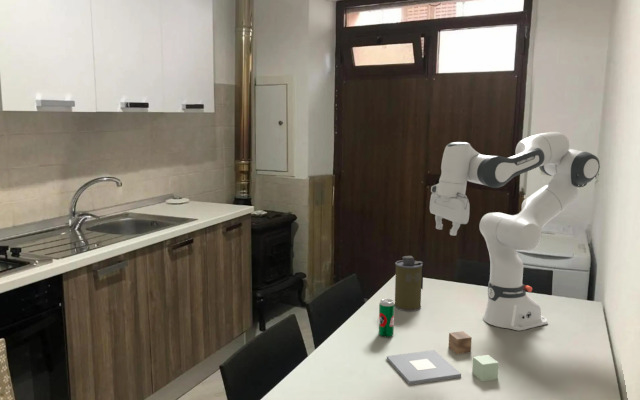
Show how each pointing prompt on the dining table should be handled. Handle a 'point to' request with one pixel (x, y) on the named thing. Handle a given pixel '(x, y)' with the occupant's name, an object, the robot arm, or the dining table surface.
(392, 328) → the soda can
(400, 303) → the canister
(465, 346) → the walnut brick
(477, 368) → the sage brick
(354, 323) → the dining table surface
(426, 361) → the board
